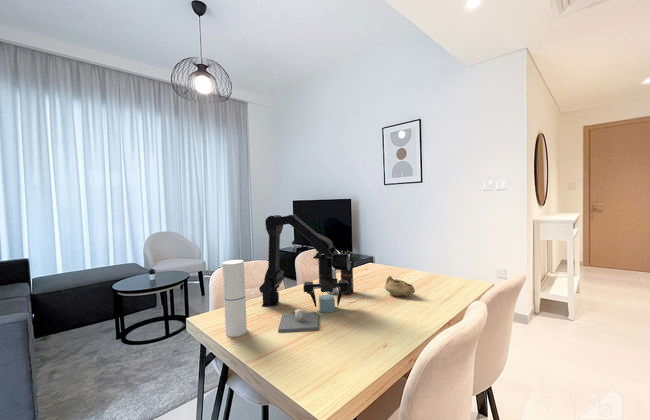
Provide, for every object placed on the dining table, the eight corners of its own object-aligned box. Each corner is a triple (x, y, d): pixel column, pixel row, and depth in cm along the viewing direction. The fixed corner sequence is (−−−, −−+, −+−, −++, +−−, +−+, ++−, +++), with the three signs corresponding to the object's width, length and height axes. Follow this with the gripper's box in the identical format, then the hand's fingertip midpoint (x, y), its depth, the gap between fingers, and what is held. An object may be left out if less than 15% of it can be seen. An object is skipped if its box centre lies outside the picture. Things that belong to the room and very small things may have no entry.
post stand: (278, 332, 100) (277, 319, 100) (282, 316, 114) (282, 304, 114) (318, 330, 100) (317, 317, 100) (317, 314, 114) (317, 302, 114)
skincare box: (337, 293, 139) (336, 268, 139) (328, 294, 138) (328, 269, 137) (332, 289, 145) (332, 266, 145) (324, 291, 144) (323, 267, 143)
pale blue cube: (319, 312, 116) (319, 300, 116) (319, 306, 122) (319, 295, 122) (334, 311, 116) (334, 299, 116) (333, 306, 123) (333, 294, 122)
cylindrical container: (227, 338, 96) (224, 265, 96) (224, 330, 103) (221, 261, 102) (248, 333, 100) (245, 262, 99) (244, 325, 106) (241, 258, 105)
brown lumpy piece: (411, 301, 125) (410, 283, 125) (380, 295, 134) (379, 278, 134) (420, 294, 133) (419, 277, 133) (390, 289, 143) (389, 273, 142)
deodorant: (352, 294, 136) (351, 263, 136) (340, 294, 138) (339, 263, 137) (354, 291, 142) (353, 261, 142) (342, 290, 143) (341, 261, 143)
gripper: (302, 275, 110) (303, 315, 111) (350, 273, 111) (351, 312, 112) (303, 268, 122) (304, 304, 122) (346, 266, 122) (348, 302, 123)
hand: (326, 306), depth 119 cm, fingers open, 9 cm apart
